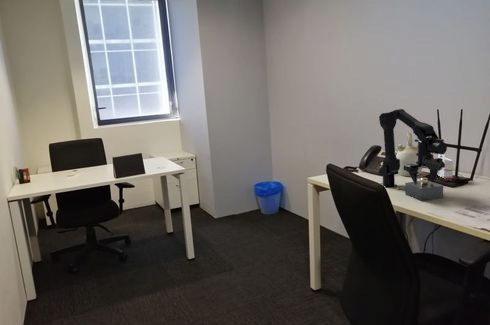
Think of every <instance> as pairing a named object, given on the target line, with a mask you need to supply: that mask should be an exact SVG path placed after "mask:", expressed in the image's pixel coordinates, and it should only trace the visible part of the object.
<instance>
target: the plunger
mask: <svg viewBox="0 0 490 325" xmlns="http://www.w3.org/2000/svg"><path fill="white" fill-rule="evenodd" d="M419 181H420V184H421V185H427V184H428V181H429V180H428V177H420V180H419Z"/></svg>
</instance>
